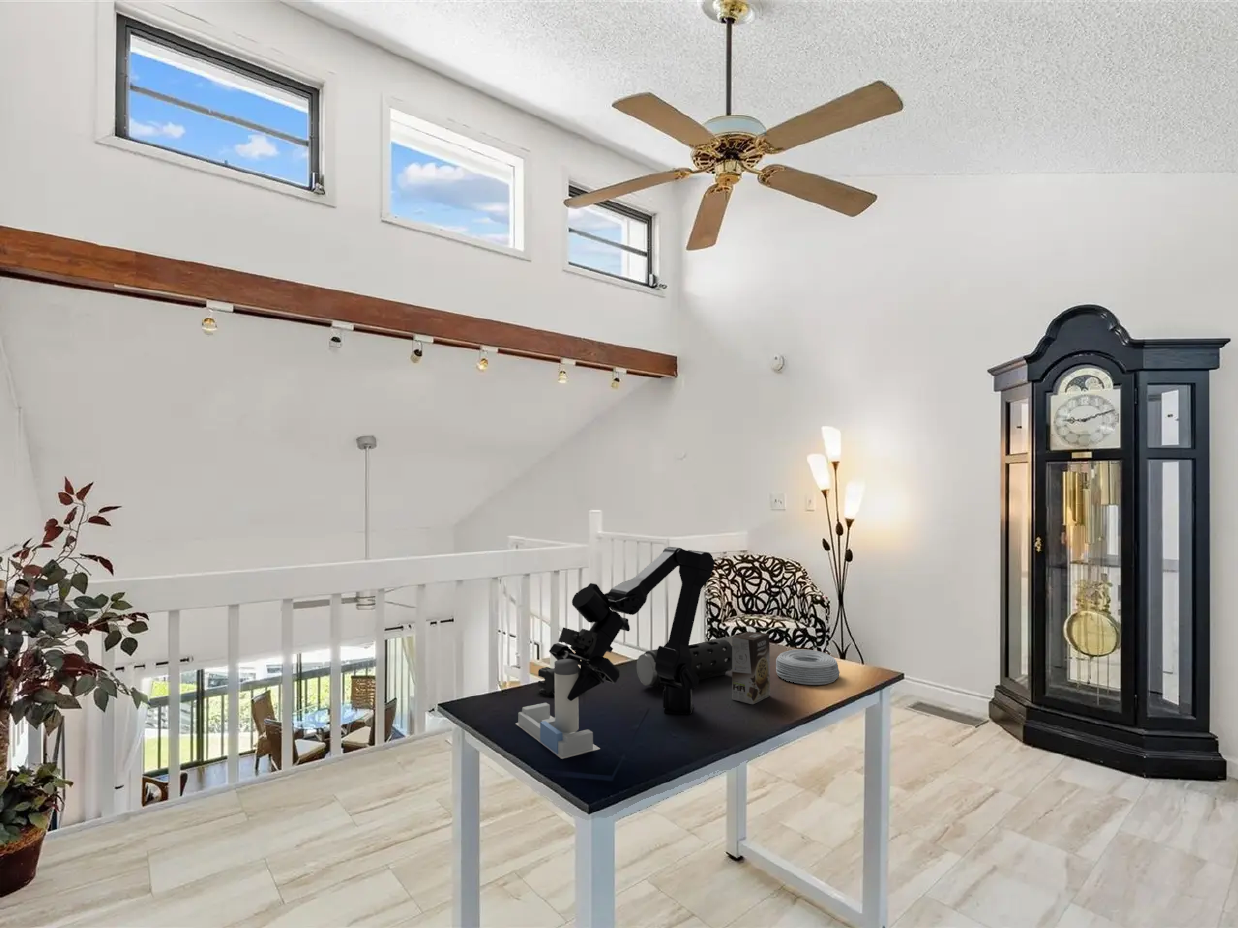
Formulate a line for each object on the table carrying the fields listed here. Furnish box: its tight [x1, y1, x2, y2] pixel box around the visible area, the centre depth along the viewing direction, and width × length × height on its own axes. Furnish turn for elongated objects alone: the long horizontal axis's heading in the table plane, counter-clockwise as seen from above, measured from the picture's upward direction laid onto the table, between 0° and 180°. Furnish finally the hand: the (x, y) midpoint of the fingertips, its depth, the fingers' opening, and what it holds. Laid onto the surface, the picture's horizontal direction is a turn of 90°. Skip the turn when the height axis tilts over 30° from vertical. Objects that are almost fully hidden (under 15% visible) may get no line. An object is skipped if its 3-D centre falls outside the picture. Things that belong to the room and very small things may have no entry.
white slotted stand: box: [515, 702, 601, 760], centre depth 146 cm, size 9×23×5 cm, turn 32°
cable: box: [775, 648, 840, 686], centre depth 191 cm, size 18×18×6 cm
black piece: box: [537, 665, 581, 697], centre depth 179 cm, size 10×7×7 cm
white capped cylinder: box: [554, 659, 580, 733], centre depth 142 cm, size 5×5×14 cm
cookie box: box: [731, 630, 771, 705], centre depth 173 cm, size 9×6×16 cm
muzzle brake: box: [636, 639, 732, 688], centre depth 187 cm, size 10×28×10 cm, turn 121°
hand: (561, 696), depth 141 cm, fingers closed on white capped cylinder, 5 cm apart
